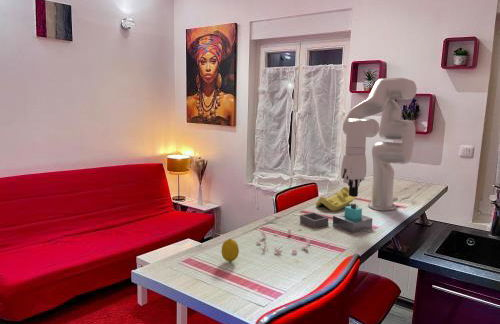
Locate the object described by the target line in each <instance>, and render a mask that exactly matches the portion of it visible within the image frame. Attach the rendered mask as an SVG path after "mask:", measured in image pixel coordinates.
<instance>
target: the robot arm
mask: <svg viewBox="0 0 500 324" xmlns="http://www.w3.org/2000/svg"><path fill="white" fill-rule="evenodd" d="M417 90H418V88H417V84H416V82H415V81H414V80H412V79H408V78H405V77H388V78H386V77H385V78H379V79H378V80H376V81H375V83H374V85H373V86H372V88H371V90H370V92H369V94H368V96H367V98H366V100H363V101H362V102H360V103H359V104H357V105H355V106H354V107H352V108H351V109H350V110H349V111H348V114H347V116H346V117H345V119H344V121H343V125H342V131H343V133H344V134H345V153H344V154H343V158H342V161H341V170H340V171H341V172H340V178H341V179H343V184H344V183H345V184H347V187H348V188H349V196H352V197H355V198H356V197H358V195H359V187H360V184H361V182H364V181H365V178H366V176H367V156H366V150H367V149H366V141H367V138H373V137H376V136H377V135H378V136H379V137H380V139H383V140H385V141H378V142H375V143H374V144H373V145H372V149H371V157H372V184H371V201H370V202H368V203H367V207H369V208H370V209H372V210H376V211H387V212H388V211H389V212H390V211H394V210H396V209H397V208H396V205H395V204H394V203H395V202H398V200H399V198H398V197H397V196H396V197H394V182H395V170H394V168H393V166H392V165H391V164H397V165H398V164H399V165H407V164H409V163H410V161H411V160H412V156H413V151H414V144H415V137H416V125H415V123H414V122H413V121H411V120H408V119H405V120H404V119H401V117H402V116H401V115H402V108H401V107H400V105H399V104H398V102H397V101H396V100H403V101H404V100H412V99H414V98H415V97H416V94H417ZM380 113H381V117H380V123H379V122H378V121H377V120H376V119H374V118H369V117H371V116H374V115H377V114H380ZM386 140H389V141H386ZM393 141H398V142H393ZM399 141H401V142H399Z"/></svg>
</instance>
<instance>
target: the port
mask: <svg viewBox="0 0 500 324" xmlns="http://www.w3.org/2000/svg"><path fill="white" fill-rule="evenodd" d="M344 215H345V212H344V213H340V214H336V215H335V214H334V215H333V216H332V226H333V227H336V228H339V229H341V230H344V231H346V232H349V233H351V234H354V233H359V232H362V230H363V231H365V229H366V230H369V228H370V229H372V228H373V217H369V216H366V215H363V214H362V218H361V219H359V220H355V221H354V220H351V219H349V218H346V217H344Z"/></svg>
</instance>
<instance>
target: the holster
mask: <svg viewBox="0 0 500 324" xmlns="http://www.w3.org/2000/svg"><path fill="white" fill-rule="evenodd" d="M299 223H302V224H304V225H306V226H309V227H311V228H313V229H316V228H320V227H325V226H328V225H329V217H327V216H325V215H322V214H319V213H316V212H314V211H313V212H308V213H304V214H300V215H299Z"/></svg>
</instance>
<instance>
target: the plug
mask: <svg viewBox="0 0 500 324" xmlns="http://www.w3.org/2000/svg"><path fill="white" fill-rule="evenodd" d="M344 213H345V215H344V217H346V218H349V219H351V220H354V221H355V220H359V219H361V218H362V215H363V208H361V207H357V203H351V204H350V205H347V206H345V207H344Z"/></svg>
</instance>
